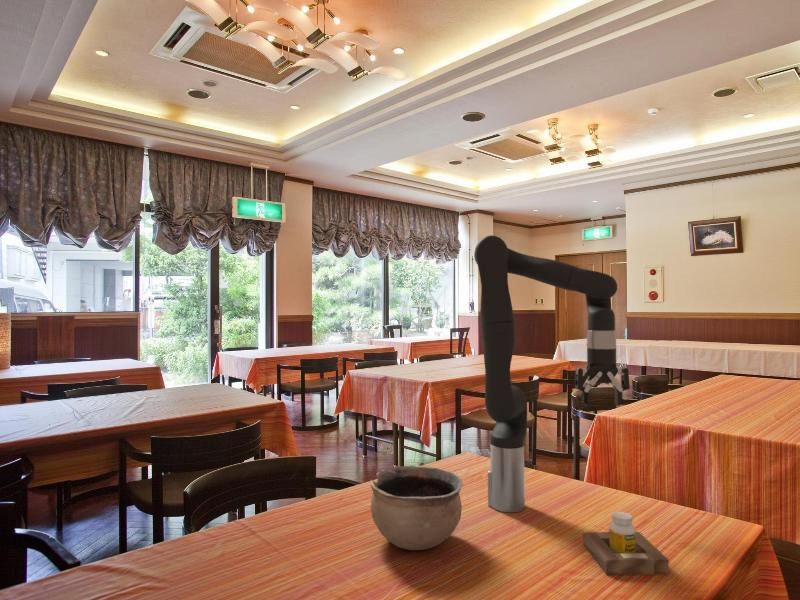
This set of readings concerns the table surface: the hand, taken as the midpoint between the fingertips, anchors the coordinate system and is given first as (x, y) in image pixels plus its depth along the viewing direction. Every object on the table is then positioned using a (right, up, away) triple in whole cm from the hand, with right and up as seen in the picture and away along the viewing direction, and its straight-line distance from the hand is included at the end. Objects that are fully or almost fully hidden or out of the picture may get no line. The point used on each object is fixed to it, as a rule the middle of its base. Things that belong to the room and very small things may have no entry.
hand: (602, 405), depth 142 cm
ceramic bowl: (-52, -29, -20) cm, 62 cm away
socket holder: (-7, -28, -29) cm, 40 cm away
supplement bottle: (-7, -28, -28) cm, 41 cm away
